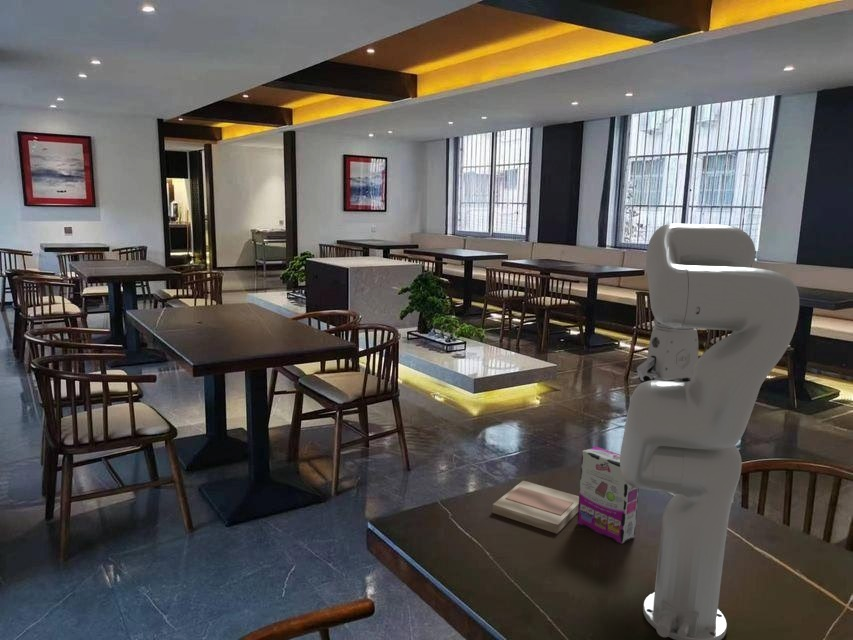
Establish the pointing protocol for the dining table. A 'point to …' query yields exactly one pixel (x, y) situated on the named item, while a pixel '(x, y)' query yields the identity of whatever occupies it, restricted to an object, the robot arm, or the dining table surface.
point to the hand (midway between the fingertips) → (667, 403)
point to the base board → (538, 506)
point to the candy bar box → (606, 496)
